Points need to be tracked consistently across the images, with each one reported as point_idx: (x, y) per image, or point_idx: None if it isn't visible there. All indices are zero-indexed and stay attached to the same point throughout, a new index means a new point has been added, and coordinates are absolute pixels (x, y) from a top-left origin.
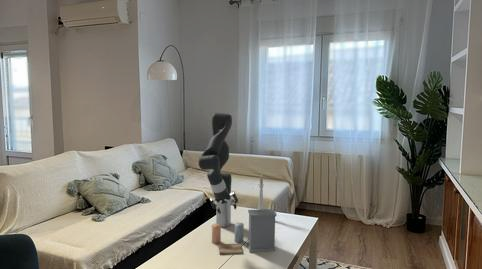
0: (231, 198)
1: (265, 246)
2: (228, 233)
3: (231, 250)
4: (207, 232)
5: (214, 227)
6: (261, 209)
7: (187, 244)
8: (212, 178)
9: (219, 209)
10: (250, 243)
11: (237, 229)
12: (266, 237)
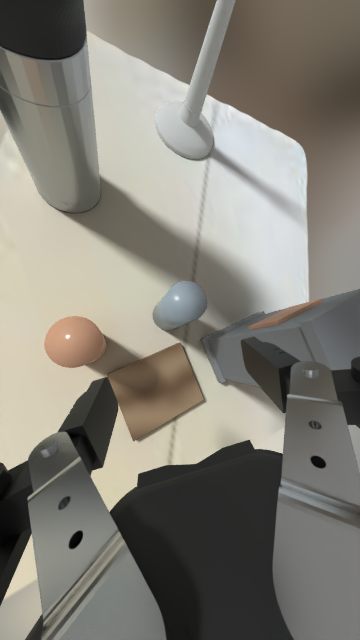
0: (341, 413)
1: None
2: (114, 263)
3: (168, 405)
4: (19, 268)
5: (71, 367)
6: (200, 103)
7: None
8: None
9: (103, 436)
10: (232, 378)
11: (180, 322)
12: None
